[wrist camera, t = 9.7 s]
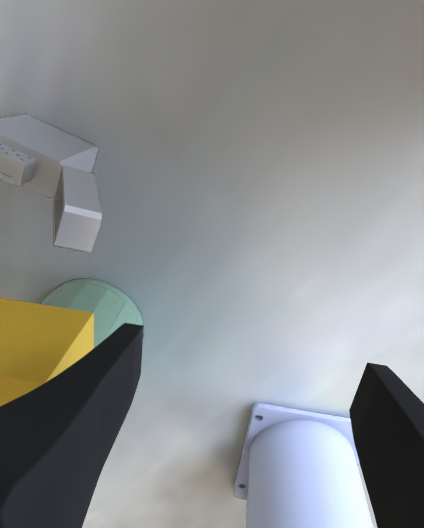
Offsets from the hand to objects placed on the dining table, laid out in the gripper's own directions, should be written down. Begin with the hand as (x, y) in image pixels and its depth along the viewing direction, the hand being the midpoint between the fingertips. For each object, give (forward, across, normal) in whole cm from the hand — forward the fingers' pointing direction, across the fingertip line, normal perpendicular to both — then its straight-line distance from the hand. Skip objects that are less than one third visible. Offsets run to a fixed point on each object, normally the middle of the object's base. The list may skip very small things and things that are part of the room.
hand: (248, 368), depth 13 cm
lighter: (+11, +10, -3) cm, 15 cm away
